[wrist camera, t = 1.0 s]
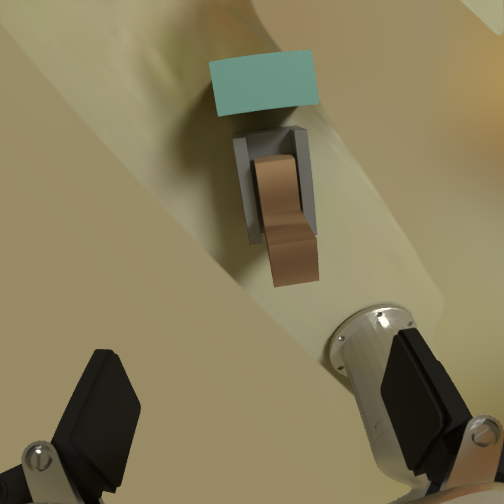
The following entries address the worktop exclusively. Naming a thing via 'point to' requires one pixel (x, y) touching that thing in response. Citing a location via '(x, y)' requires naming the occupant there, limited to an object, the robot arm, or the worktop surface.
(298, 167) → the guide channel
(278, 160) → the rod
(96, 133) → the worktop surface
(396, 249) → the worktop surface
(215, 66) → the teal rectangular block
